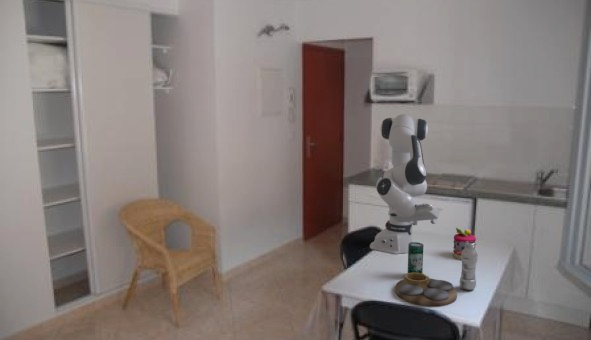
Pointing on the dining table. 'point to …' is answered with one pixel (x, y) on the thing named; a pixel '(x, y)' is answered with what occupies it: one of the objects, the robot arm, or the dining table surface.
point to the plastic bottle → (468, 266)
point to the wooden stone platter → (425, 290)
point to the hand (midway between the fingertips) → (425, 223)
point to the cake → (461, 242)
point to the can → (415, 257)
